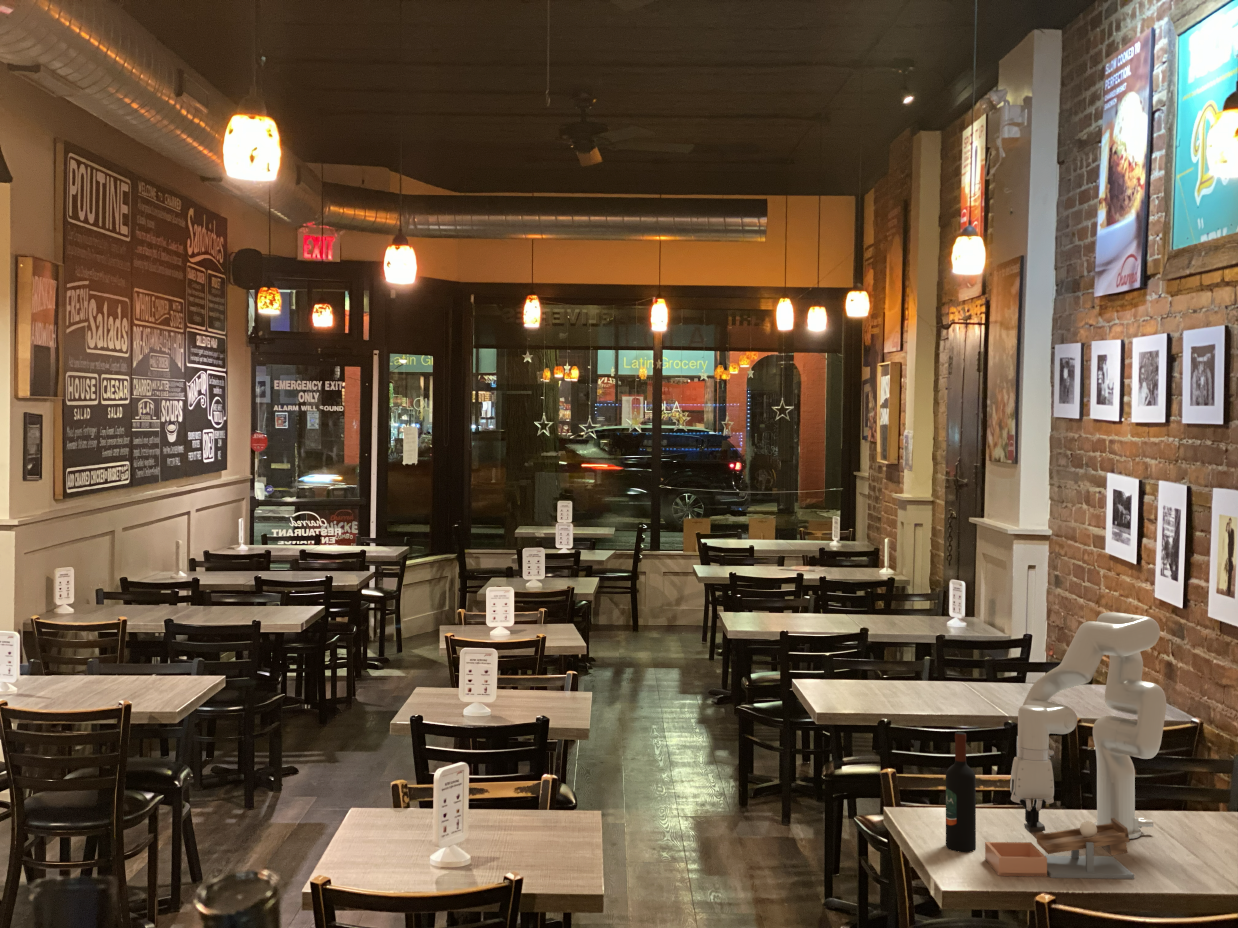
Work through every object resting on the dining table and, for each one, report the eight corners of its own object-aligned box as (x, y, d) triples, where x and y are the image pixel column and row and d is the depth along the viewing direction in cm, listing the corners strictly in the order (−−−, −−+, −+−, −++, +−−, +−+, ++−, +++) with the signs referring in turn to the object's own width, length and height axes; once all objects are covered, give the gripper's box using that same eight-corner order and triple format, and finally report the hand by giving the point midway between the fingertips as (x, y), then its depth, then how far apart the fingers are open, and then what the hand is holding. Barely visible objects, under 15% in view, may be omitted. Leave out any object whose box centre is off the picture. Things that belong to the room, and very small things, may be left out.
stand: (1112, 859, 284) (1112, 828, 284) (1134, 878, 271) (1134, 845, 271) (1033, 858, 285) (1032, 827, 285) (1051, 877, 272) (1050, 844, 272)
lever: (1103, 831, 291) (1099, 807, 291) (1131, 853, 274) (1127, 827, 274) (1027, 843, 291) (1023, 818, 291) (1050, 865, 274) (1045, 840, 274)
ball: (1079, 817, 280) (1075, 832, 280) (1085, 822, 276) (1081, 837, 276) (1095, 820, 280) (1091, 836, 280) (1101, 825, 276) (1097, 841, 276)
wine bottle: (971, 853, 289) (971, 737, 289) (942, 848, 293) (942, 734, 293) (979, 845, 295) (978, 732, 295) (950, 840, 299) (950, 728, 299)
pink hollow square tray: (1031, 859, 284) (1031, 842, 284) (1047, 876, 273) (1047, 857, 273) (985, 859, 285) (985, 841, 285) (999, 875, 273) (999, 857, 273)
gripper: (1057, 751, 293) (1056, 821, 293) (999, 749, 294) (998, 819, 293) (1067, 758, 285) (1066, 830, 285) (1008, 756, 286) (1007, 828, 286)
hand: (1031, 824), depth 289 cm, fingers closed
